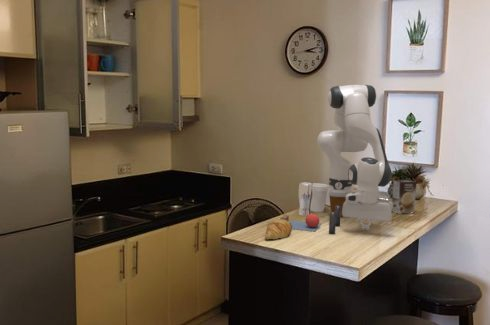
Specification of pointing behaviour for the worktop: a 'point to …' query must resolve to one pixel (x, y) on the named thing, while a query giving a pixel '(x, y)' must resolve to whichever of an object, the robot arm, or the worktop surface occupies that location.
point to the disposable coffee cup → (337, 198)
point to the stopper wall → (285, 217)
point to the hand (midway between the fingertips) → (365, 229)
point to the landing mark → (303, 226)
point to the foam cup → (319, 197)
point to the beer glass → (305, 198)
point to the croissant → (278, 229)
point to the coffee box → (403, 196)
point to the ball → (312, 220)
